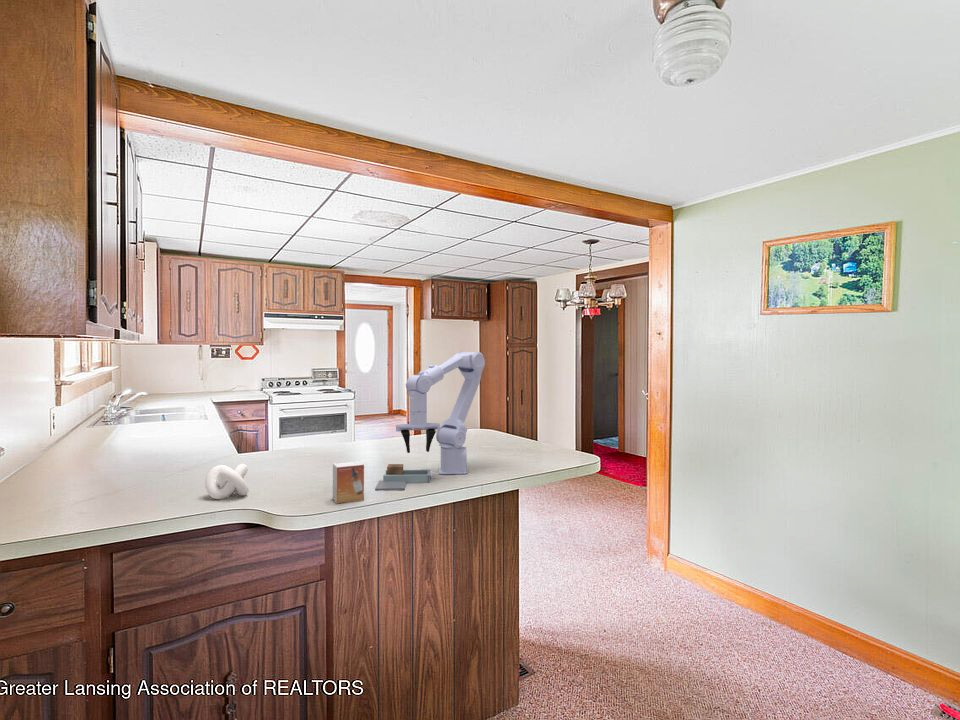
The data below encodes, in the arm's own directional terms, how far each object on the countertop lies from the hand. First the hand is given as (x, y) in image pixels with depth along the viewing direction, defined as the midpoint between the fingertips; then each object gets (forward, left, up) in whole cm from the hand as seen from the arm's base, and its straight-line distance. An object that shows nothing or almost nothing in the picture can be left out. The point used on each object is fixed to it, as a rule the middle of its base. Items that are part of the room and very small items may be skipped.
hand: (418, 451), depth 164 cm
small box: (+19, +20, -10) cm, 29 cm away
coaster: (+8, +7, -9) cm, 14 cm away
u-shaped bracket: (+4, 0, -9) cm, 10 cm away
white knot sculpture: (+54, +15, -10) cm, 57 cm away
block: (+8, 0, -10) cm, 12 cm away
